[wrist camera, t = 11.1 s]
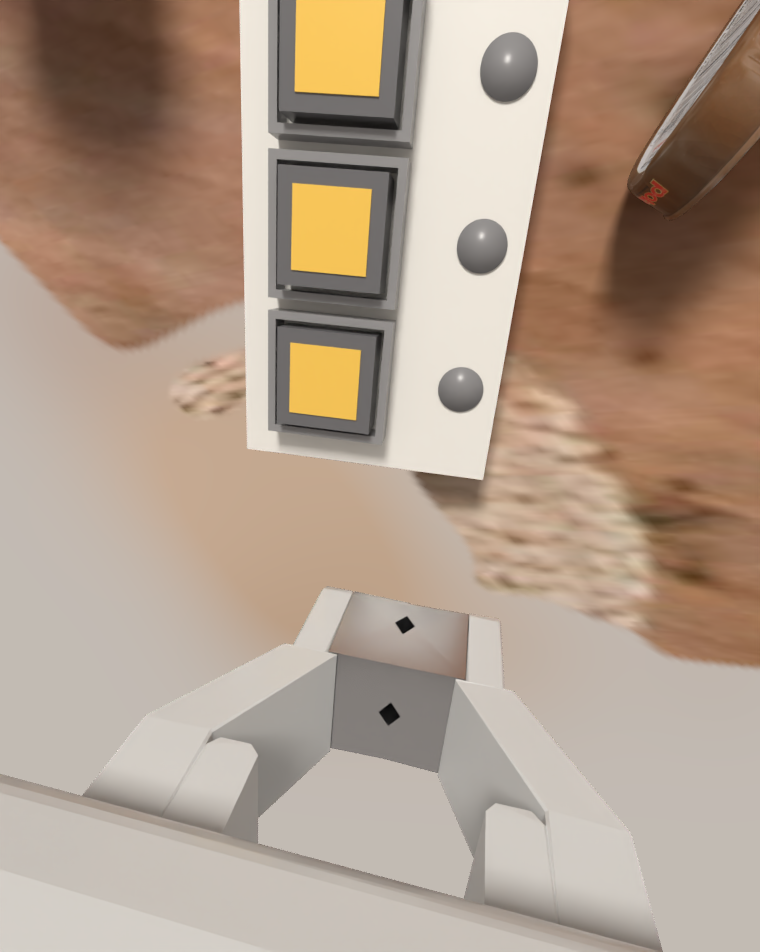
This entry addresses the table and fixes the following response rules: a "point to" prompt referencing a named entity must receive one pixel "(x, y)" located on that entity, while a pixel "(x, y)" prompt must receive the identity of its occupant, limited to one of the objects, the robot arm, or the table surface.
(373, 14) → the button
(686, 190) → the tin
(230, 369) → the table surface
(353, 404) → the button
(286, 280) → the button middle
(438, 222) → the button panel
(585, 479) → the table surface
